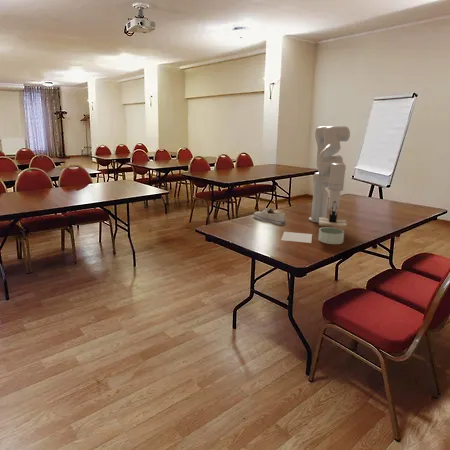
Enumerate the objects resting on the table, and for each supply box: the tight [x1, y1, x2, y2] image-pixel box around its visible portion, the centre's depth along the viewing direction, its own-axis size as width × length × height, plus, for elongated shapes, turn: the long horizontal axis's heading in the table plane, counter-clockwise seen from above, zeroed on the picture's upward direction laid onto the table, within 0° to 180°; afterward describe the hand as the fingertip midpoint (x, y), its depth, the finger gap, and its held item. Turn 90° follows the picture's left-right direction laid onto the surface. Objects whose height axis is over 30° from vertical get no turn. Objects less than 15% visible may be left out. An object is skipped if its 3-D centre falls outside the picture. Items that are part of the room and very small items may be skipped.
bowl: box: [318, 226, 345, 245], centre depth 200 cm, size 13×13×6 cm
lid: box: [318, 211, 348, 228], centre depth 197 cm, size 14×14×6 cm
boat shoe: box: [253, 207, 286, 226], centre depth 239 cm, size 25×9×9 cm, turn 39°
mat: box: [280, 231, 313, 244], centre depth 205 cm, size 16×16×1 cm
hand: (332, 220), depth 197 cm, fingers closed on lid, 4 cm apart
